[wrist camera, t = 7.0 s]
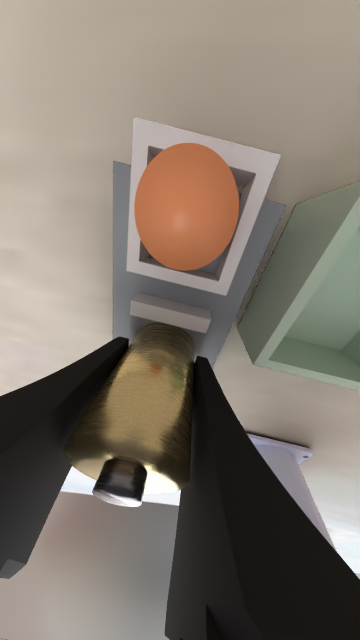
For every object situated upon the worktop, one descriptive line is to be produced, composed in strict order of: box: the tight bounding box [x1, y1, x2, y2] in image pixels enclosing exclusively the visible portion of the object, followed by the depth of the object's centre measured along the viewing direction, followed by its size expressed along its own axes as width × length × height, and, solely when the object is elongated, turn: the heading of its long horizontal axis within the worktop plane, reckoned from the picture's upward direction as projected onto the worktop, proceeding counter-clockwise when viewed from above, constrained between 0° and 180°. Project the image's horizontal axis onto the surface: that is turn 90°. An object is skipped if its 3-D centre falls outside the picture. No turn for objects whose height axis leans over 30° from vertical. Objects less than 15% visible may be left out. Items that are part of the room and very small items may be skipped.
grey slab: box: [113, 117, 286, 367], centre depth 9 cm, size 13×7×3 cm, turn 168°
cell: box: [63, 322, 195, 507], centre depth 7 cm, size 4×4×7 cm
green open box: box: [237, 181, 360, 391], centre depth 7 cm, size 7×7×4 cm
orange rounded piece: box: [134, 143, 239, 271], centre depth 5 cm, size 3×3×2 cm
